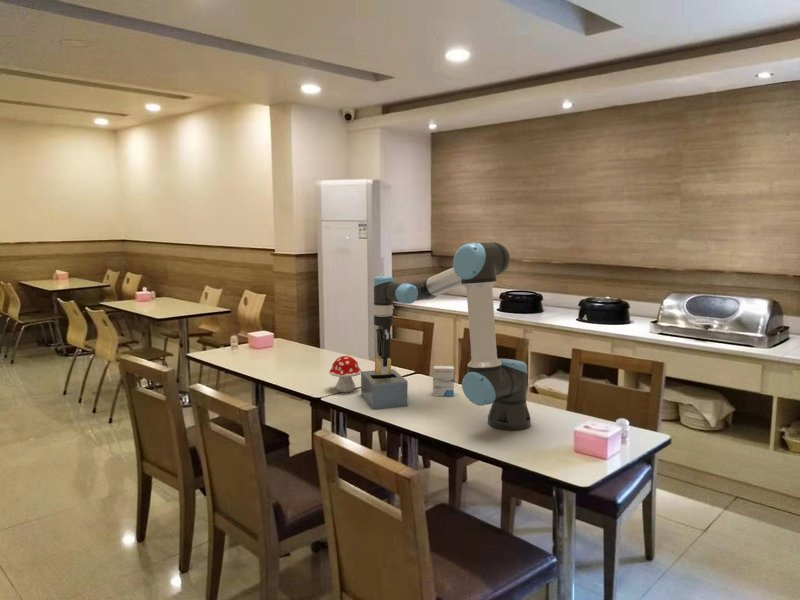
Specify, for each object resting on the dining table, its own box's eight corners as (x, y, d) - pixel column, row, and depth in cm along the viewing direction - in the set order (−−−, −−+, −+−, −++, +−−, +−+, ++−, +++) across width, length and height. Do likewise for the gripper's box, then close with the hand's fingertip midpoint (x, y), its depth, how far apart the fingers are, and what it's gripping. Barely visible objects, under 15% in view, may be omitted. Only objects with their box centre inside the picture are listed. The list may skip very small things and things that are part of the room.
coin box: (407, 406, 231) (407, 381, 230) (372, 409, 227) (372, 384, 226) (393, 392, 250) (393, 369, 249) (361, 394, 246) (361, 371, 245)
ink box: (453, 393, 249) (454, 365, 247) (453, 396, 244) (453, 368, 242) (433, 392, 250) (433, 365, 248) (432, 396, 245) (433, 368, 243)
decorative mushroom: (323, 393, 248) (322, 358, 246) (338, 384, 261) (337, 351, 259) (353, 396, 243) (353, 361, 242) (367, 388, 256) (366, 354, 254)
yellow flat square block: (391, 374, 237) (391, 359, 236) (376, 375, 235) (376, 360, 234) (389, 372, 239) (389, 358, 238) (374, 373, 238) (375, 359, 237)
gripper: (398, 317, 228) (397, 377, 231) (387, 311, 242) (387, 367, 246) (379, 318, 226) (379, 378, 229) (369, 312, 240) (369, 369, 244)
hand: (383, 372), depth 237 cm, fingers closed on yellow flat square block, 2 cm apart
